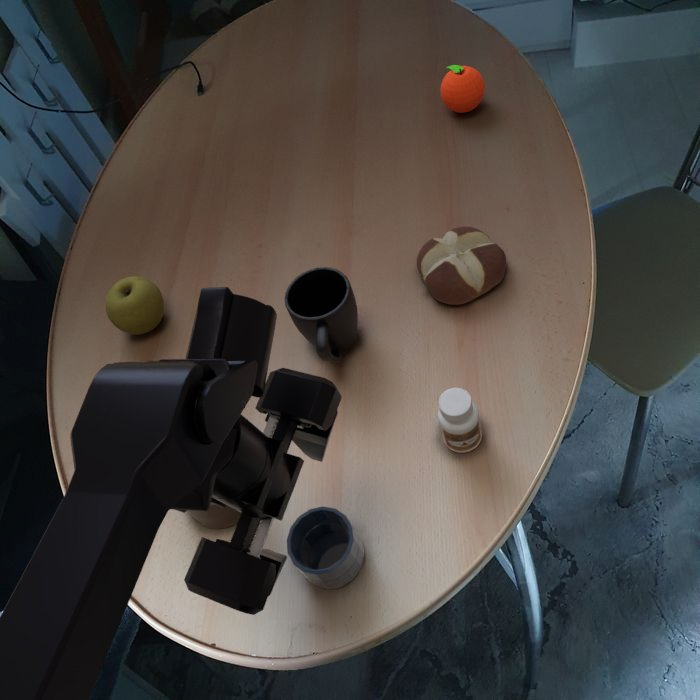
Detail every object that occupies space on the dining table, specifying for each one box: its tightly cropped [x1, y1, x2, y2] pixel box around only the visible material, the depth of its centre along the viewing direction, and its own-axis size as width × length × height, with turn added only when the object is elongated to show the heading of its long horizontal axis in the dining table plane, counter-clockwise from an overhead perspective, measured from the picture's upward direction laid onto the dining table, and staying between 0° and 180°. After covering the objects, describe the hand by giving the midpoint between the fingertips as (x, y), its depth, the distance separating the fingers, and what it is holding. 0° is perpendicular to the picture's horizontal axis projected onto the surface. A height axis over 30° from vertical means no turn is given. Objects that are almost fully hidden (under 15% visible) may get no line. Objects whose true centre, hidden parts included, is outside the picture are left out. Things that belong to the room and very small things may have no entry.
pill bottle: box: [436, 387, 483, 454], centre depth 73 cm, size 4×4×8 cm
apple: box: [104, 275, 165, 335], centre depth 95 cm, size 8×8×7 cm
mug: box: [284, 266, 359, 363], centre depth 83 cm, size 8×12×10 cm
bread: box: [416, 226, 507, 306], centre depth 88 cm, size 11×11×5 cm
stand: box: [186, 504, 241, 530], centre depth 77 cm, size 9×9×6 cm
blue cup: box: [286, 505, 365, 590], centre depth 69 cm, size 7×7×6 cm
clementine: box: [440, 64, 486, 114], centre depth 107 cm, size 8×7×7 cm
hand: (299, 506), depth 61 cm, fingers open, 9 cm apart
